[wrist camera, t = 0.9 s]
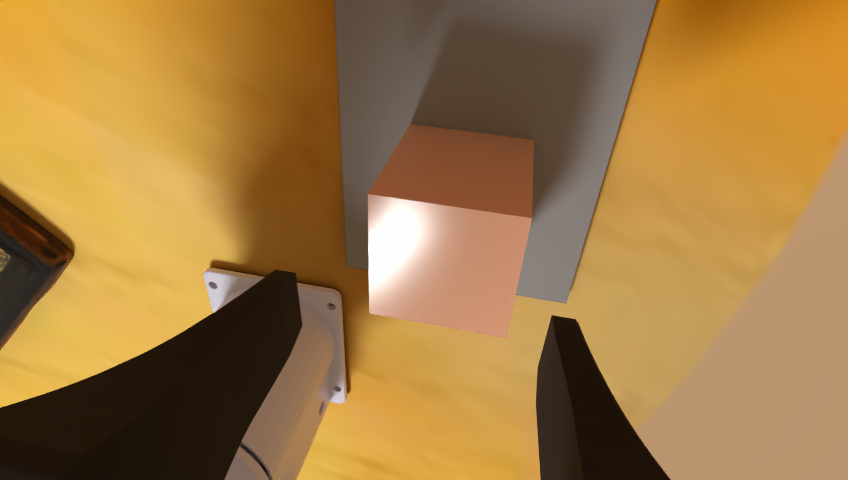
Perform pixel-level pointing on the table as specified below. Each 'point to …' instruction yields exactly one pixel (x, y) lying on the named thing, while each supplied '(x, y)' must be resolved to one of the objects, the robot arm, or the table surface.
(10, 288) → the framed painting
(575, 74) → the grey board
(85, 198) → the table surface
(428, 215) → the terracotta block
